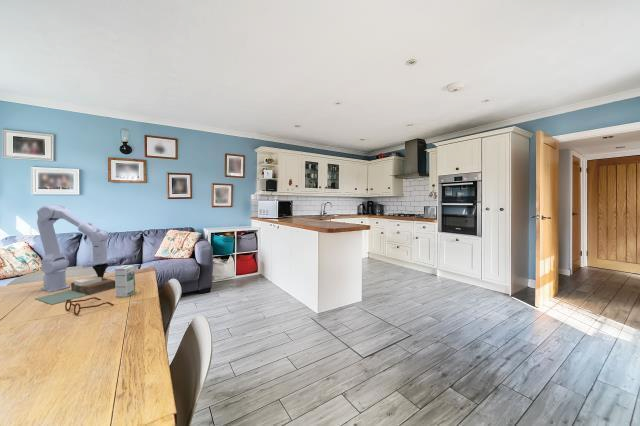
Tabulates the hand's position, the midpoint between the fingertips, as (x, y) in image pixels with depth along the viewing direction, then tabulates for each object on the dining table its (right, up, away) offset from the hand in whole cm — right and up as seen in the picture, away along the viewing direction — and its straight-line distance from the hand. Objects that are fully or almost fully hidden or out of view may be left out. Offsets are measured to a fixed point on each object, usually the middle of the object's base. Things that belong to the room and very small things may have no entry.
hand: (100, 278), depth 140 cm
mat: (-6, -6, -15) cm, 17 cm away
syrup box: (+22, -6, -10) cm, 25 cm away
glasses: (+17, -7, -25) cm, 32 cm away
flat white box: (-2, -1, -5) cm, 5 cm away
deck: (-1, -5, -3) cm, 6 cm away
